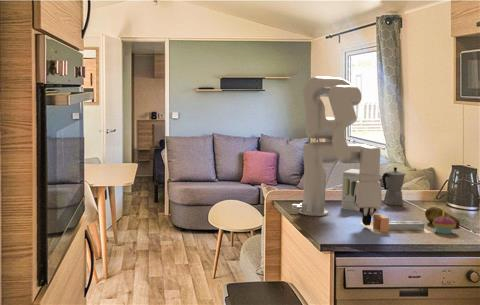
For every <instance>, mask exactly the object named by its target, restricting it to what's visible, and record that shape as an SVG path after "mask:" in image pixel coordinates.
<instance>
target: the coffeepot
mask: <svg viewBox="0 0 480 305" xmlns="http://www.w3.org/2000/svg"><path fill="white" fill-rule="evenodd" d="M397 169H398V167H393V170H390V171H387V172H384V173H383V174H382V179H381V180H382V184H383V189H384V190H386V191H385V195H384V198H383V203H384V204H386V205H389V206H402V205H403V204H404V200H403V199H404V198H403V191H402V188H403V185H404V180H405V176H406V174H405V173H404V172H401V171H397Z"/></svg>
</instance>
